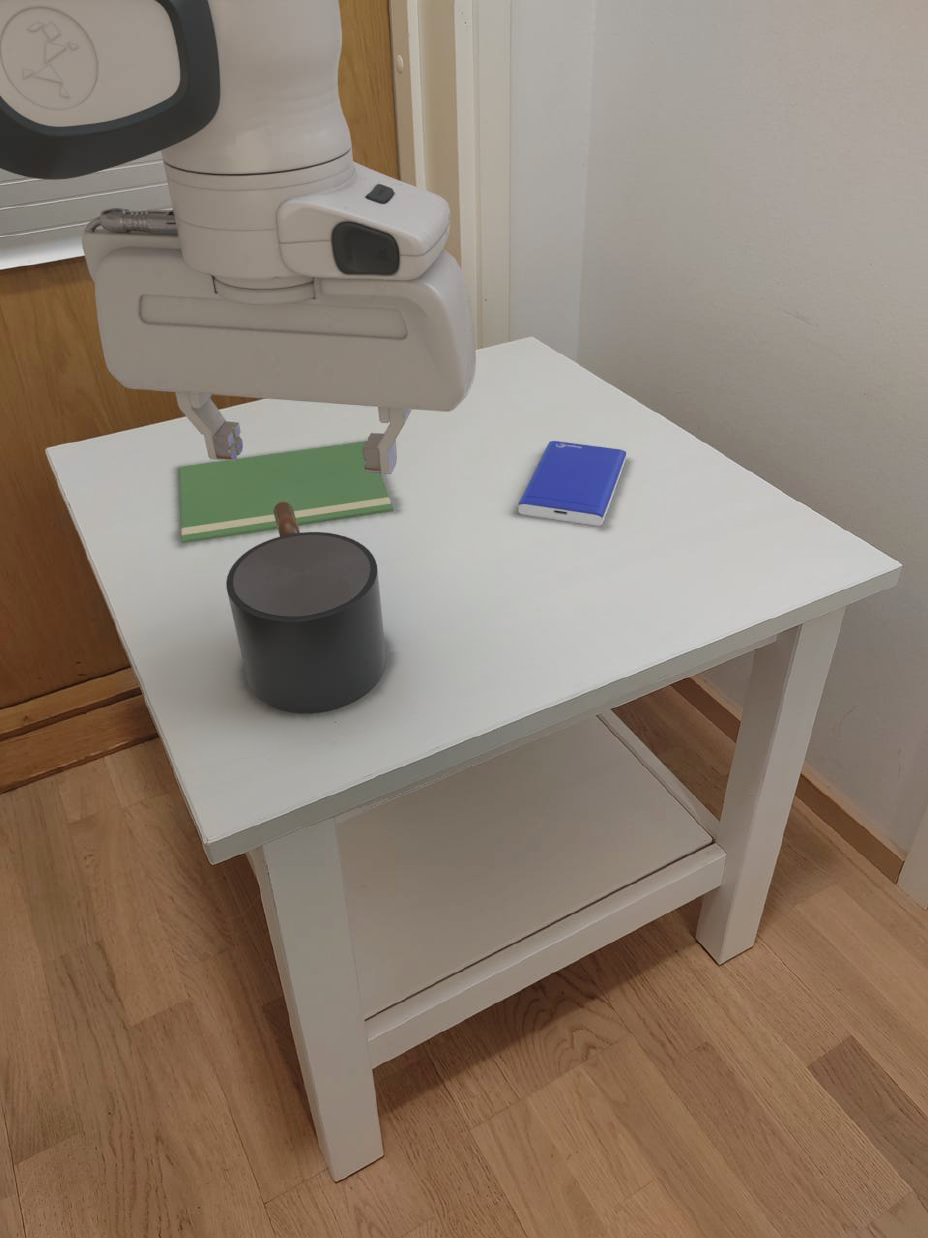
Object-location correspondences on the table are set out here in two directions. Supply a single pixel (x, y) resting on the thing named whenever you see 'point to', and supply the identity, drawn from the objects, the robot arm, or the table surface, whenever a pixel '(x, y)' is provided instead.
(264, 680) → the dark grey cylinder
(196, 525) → the green book
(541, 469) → the hard drive
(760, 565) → the table surface
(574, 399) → the table surface
